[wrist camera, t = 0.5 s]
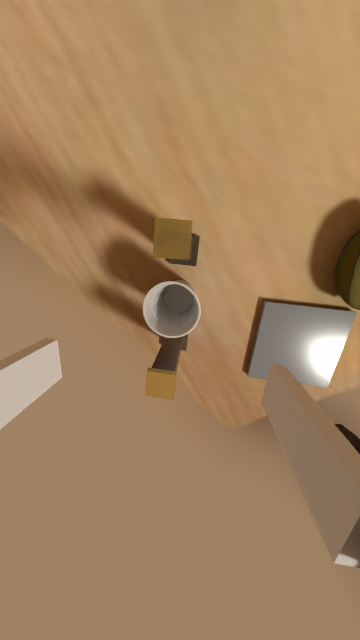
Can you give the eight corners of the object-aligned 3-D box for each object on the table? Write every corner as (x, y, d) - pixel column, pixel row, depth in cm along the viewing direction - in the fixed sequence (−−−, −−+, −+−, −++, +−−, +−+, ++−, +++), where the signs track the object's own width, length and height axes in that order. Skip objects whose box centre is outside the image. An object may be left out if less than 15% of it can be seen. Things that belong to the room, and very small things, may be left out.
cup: (153, 304, 38) (134, 322, 27) (170, 268, 36) (156, 270, 24) (188, 322, 39) (184, 347, 27) (207, 287, 36) (211, 298, 25)
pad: (263, 300, 36) (265, 301, 35) (351, 310, 35) (356, 312, 34) (246, 373, 41) (247, 376, 39) (323, 384, 40) (327, 387, 38)
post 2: (164, 323, 39) (141, 365, 23) (188, 326, 39) (182, 370, 23) (163, 345, 41) (139, 399, 25) (186, 348, 40) (178, 404, 24)
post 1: (171, 234, 34) (148, 208, 18) (199, 236, 34) (200, 213, 18) (169, 263, 36) (145, 263, 19) (196, 265, 35) (194, 268, 19)
